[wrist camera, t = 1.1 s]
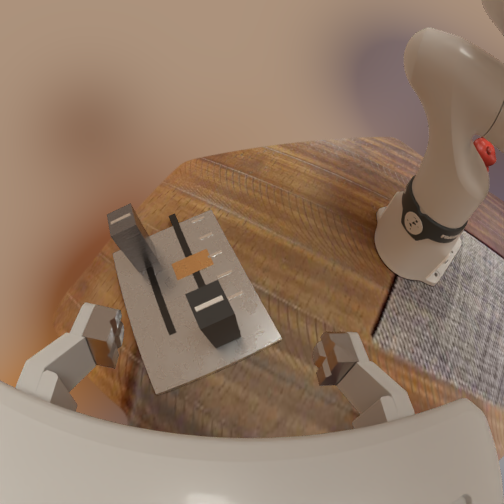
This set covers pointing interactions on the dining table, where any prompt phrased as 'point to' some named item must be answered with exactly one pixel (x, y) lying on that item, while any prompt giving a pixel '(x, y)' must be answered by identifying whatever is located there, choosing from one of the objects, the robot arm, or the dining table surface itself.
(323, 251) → the dining table surface
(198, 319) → the fader knob
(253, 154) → the dining table surface
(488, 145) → the stacking bear
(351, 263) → the dining table surface
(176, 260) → the console
